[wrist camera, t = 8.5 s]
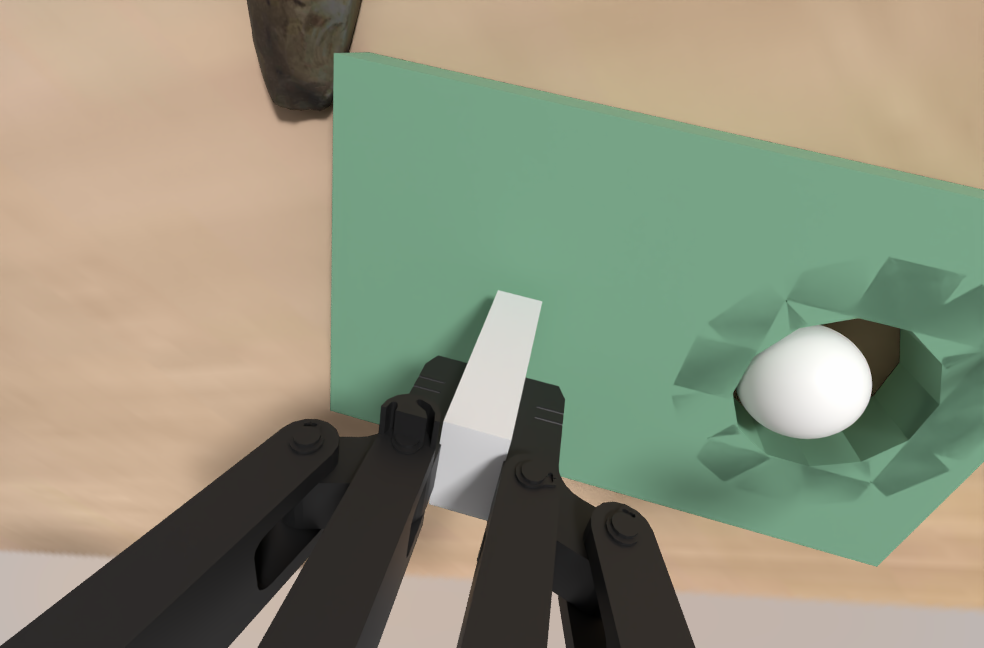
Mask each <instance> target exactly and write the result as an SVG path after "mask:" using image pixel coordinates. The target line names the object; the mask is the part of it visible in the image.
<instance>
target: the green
mask: <svg viewBox="0 0 984 648" xmlns="http://www.w3.org/2000/svg"><path fill="white" fill-rule="evenodd" d="M498 290H500V291H503V292H507V293H511V294H515V295H519V296H523V297H527V298H531V299H535V300H539V301H542V306H541V310H540V315H539V319H538V323H537V328H536V332H535V337H534V341H533V346H532V350H531V355H530V359H529V364H528V368H527V373H526V378H530V379H534V380H537V381H541V382H545V383H549V384H552V385H556V386H559V387H560V390H561V392H562V394H563V396H564V398H565V407H564V414H563V415H564V417H563V425H562V426H563V427H562V438H561V448H560V458H559V473H560V475H561V477H565V478H568V479H572V480H575V481H579V482H582V483H586V484H589V485H593V486H596V487H600V488H603V489H607V490H610V491H614V492H617V493H621V494H624V495H628V496H631V497H635V498H638V499H642V500H645V501H649V502H652V503H656V504H659V505H663V506H666V507H670V508H673V509H677V510H680V511H684V512H687V513H691V514H694V515H698V516H701V517H705V518H708V519H712V520H715V521H719V522H722V523H726V524H729V525H733V526H736V527H740V528H743V529H747V530H750V531H754V532H757V533H761V534H764V535H768V536H771V537H775V538H778V539H782V540H785V541H789V542H792V543H796V544H799V545H803V546H806V547H810V548H813V549H817V550H820V551H824V552H827V553H831V554H834V555H838V556H841V557H845V558H848V559H852V560H855V561H859V562H862V563H866V564H869V565H873V566H876V567H877V566H878V565H879V564H880V563H881V562H882V561H883V560H884V559H885V558H886V557H887V556H888V555H889V554H890V553H891V552H892V551H893V550H894V549H895V548H896V547H897V546H898V545H899V544H900V543H901V542H902V541H903V540H905V539H906V538H907V537H908V536H909V535H910V534H911V533H912V532H913V531H914V530H915V529H916V528H917V527H918V526H919V525H920V524H921V523H922V522H923V521H924V520H925V519H926V518H927V517H928V516H929V515H930V514H931V513H932V512H933V511H934V510H935V509H936V508H937V507H938V506H939V505H940V504H941V503H942V502H943V501H944V500H945V499H946V498H947V497H948V496H949V495H950V494H951V493H952V492H953V491H954V490H955V489H956V488H957V487H959V486H960V485H961V484H962V483H963V482H964V481H965V480H966V479H967V478H968V477H969V476H970V475H971V474H972V473H973V472H974V471H975V470H976V469H977V468H978V467H979V466H980V465H981V464H982V463H983V462H984V190H982V189H978V188H973V187H969V186H964V185H960V184H955V183H951V182H946V181H942V180H937V179H933V178H928V177H924V176H920V175H915V174H911V173H906V172H902V171H897V170H893V169H888V168H884V167H879V166H875V165H870V164H866V163H861V162H857V161H852V160H848V159H844V158H839V157H835V156H830V155H826V154H821V153H817V152H812V151H808V150H803V149H799V148H794V147H790V146H785V145H781V144H776V143H772V142H767V141H763V140H759V139H754V138H750V137H745V136H741V135H736V134H732V133H727V132H723V131H718V130H714V129H709V128H705V127H700V126H696V125H691V124H687V123H683V122H678V121H674V120H669V119H665V118H660V117H656V116H651V115H647V114H642V113H638V112H633V111H629V110H624V109H620V108H615V107H611V106H607V105H602V104H598V103H593V102H589V101H584V100H580V99H575V98H571V97H566V96H562V95H557V94H553V93H548V92H544V91H539V90H535V89H531V88H526V87H522V86H517V85H513V84H508V83H504V82H499V81H495V80H490V79H486V78H481V77H477V76H472V75H468V74H463V73H459V72H454V71H450V70H446V69H441V68H437V67H432V66H428V65H423V64H419V63H414V62H410V61H405V60H401V59H396V58H392V57H387V56H383V55H378V54H374V53H370V52H364V53H334V87H333V189H332V291H331V393H330V411H334V412H337V413H341V414H344V415H348V416H351V417H355V418H358V419H362V420H365V421H369V422H372V423H376V424H379V423H380V411H381V405H382V404H383V403H384V402H385V401H386V400H387V399H389V398H392V397H394V396H396V395H401V394H409V393H410V391H411V389H412V387H414V384H415V382H416V380H417V378H418V377H419V375H420V373H421V371H422V369H423V367H424V365H425V364H426V363H427V362H429V361H430V360H432V359H433V358H435V357H436V356H438V355H439V356H443V357H447V358H450V359H454V360H458V361H462V362H465V363H468V361H469V359H470V356H471V354H472V352H473V349H474V347H475V344H476V342H477V340H478V337H479V335H480V332H481V330H482V328H483V325H484V323H485V320H486V318H487V316H488V313H489V311H490V308H491V306H492V304H493V301H494V299H495V296H496V294H497V292H498ZM856 318H860V319H864V320H868V321H872V322H876V323H880V324H884V325H888V326H892V327H896V328H900V362H899V364H898V365H897V366H896V368H895V369H894V370H893V372H892V373H891V374H890V375H889V377H888V378H887V379H886V381H885V382H884V383H883V384H882V386H881V387H880V388H879V390H878V391H877V392H876V394H875V395H874V396H872V397H870V400H869V403H868V405H867V407H866V408H865V410H864V412H863V413H862V415H861V416H860V417H859V418H858V419H857V420H856V421H855V422H854V423H853V424H852V425H851V426H849V427H848V428H846V429H844V430H842V431H841V432H839V433H836V434H833V435H831V436H827V437H822V438H815V439H799V438H793V437H788V436H784V435H781V434H779V433H776V432H774V431H771V430H770V429H768V428H766V427H764V426H763V425H761V424H760V423H759V422H757V421H756V420H755V419H754V418H753V417H752V416H751V415H750V414H749V413H748V412H747V410H746V409H745V408H744V406H743V405H742V404H740V403H739V402H738V401H737V400H736V399H735V398H734V397H733V392H734V390H735V389H736V387H737V385H738V383H739V382H740V380H741V378H742V376H743V375H744V373H745V371H746V369H747V368H748V366H749V364H750V362H751V361H752V359H753V357H754V356H756V355H757V354H759V353H761V352H762V351H764V350H765V349H767V348H769V347H770V346H772V345H773V344H775V343H777V342H778V341H780V340H781V339H783V338H784V337H786V336H788V335H789V334H791V333H792V332H794V331H796V330H797V329H799V328H804V327H810V326H815V325H821V324H827V323H833V322H839V321H844V320H850V319H856Z"/></svg>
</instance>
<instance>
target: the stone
mask: <svg viewBox="0 0 984 648" xmlns="http://www.w3.org/2000/svg"><path fill="white" fill-rule="evenodd" d="M360 2H361V0H247V4H248V11H249V17H250V22H251V27H252V36H253V42H254V45H255V49H256V53H257V57H258V60H259V64H260V68H261V72H262V75H263V78H264V81H265V84H266V87H267V89H268V91H269V94H270V96H271V98H272V100H273V102H274V103H275V104H276V105H278V106H280V107H285V108H288V109H292V110H307V109H311V110H318V111H321V110H323V109H325V108H327V107H329V106H330V105H331V103H332V101H333V87H334V53H348V51H349V47H350V44H351V40H352V36H353V31H354V26H355V23H356V20H357V16H358V12H359V7H360Z"/></svg>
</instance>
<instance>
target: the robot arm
mask: <svg viewBox="0 0 984 648" xmlns="http://www.w3.org/2000/svg"><path fill="white" fill-rule="evenodd" d="M541 306H542V301H539V300H535V299H531V298H527V297H523V296H519V295H515V294H511V293H507V292H503V291H500V290H498V292H497V294H496V296H495V299H494V301H493V304H492V306H491V308H490V311H489V313H488V316H487V318H486V320H485V323H484V325H483V328H482V330H481V332H480V335H479V337H478V340H477V342H476V344H475V347H474V349H473V352H472V354H471V356H470V359H469V361H468V363H465V362H462V361H458V360H454V359H450V358H447V357H443V356H439V355H438V356H436V357H435V358H433V359H432V360H430V361H429V362H427V363H426V364H425V365H424V367H423V369H422V371H421V373H420V375H419V377H418V378H417V380H416V382H415V384H414V387H412V389H411V391H410V393H409V394H401V395H396V396H394V397H392V398H389V399H387V400H386V401H385V402H384V403H383V404H382V405H381V411H380V423H379V433H378V434H376V435H372V436H368V437H339V435H338V432H337V430H336V428H334V427H333V426H332V425H331V424H329V423H328V422H324V421H321V420H318V419H304V420H300V421H296V422H292V423H291V424H289V425H287V426H285V427H283V428H282V429H281V430H279V431H278V432H277V433H276V434H274V435H273V436H272V437H270V438H269V439H268V440H266V441H265V442H264V443H263V444H261V445H260V446H259V447H257V448H256V449H255V450H253V451H252V452H251V453H250V454H248V455H247V456H246V457H244V458H243V459H242V460H241V461H239V462H238V463H237V464H235V465H234V466H233V467H231V468H230V469H229V470H228V471H226V472H225V473H224V474H222V475H221V476H220V477H219V478H217V479H216V480H215V481H213V482H212V483H211V484H209V485H208V486H207V487H206V488H204V489H203V490H202V491H200V492H199V493H198V494H197V495H195V496H194V497H193V498H191V499H190V500H189V501H187V502H186V503H185V504H184V505H182V506H181V507H180V508H178V509H177V510H176V511H175V512H173V513H172V514H171V515H169V516H168V517H167V518H165V519H164V520H163V521H162V522H160V523H159V524H158V525H156V526H155V527H154V528H153V529H151V530H150V531H149V532H147V533H146V534H145V535H143V536H142V537H141V538H140V539H138V540H137V541H136V542H134V543H133V544H132V545H131V546H129V547H128V548H127V549H125V550H124V551H123V552H121V553H120V554H119V555H118V556H116V557H115V558H114V559H112V560H111V561H110V562H109V563H107V564H106V565H105V566H103V567H102V568H101V569H99V570H98V571H97V572H96V573H94V574H93V575H92V576H91V577H89V578H88V579H87V580H85V581H84V582H83V583H81V584H80V585H79V586H77V587H76V588H75V589H74V590H72V591H71V592H70V593H68V594H67V595H66V596H65V597H63V598H62V599H61V600H59V601H58V602H57V603H56V604H54V605H53V606H52V607H50V608H49V609H48V610H46V611H45V612H44V613H42V614H41V615H40V616H39V617H37V618H36V619H35V620H33V621H32V622H31V623H30V624H28V625H27V626H26V627H24V628H23V629H22V630H21V631H19V632H18V633H17V634H15V635H14V636H13V637H11V638H10V639H9V640H8V641H6V642H5V643H4V644H2V645H1V646H0V648H228V647H229V645H231V643H232V642H233V641H234V640H235V639H236V638H237V637H238V635H240V633H241V632H242V631H243V630H244V629H245V627H247V626H248V624H249V623H250V622H251V621H252V620H253V619H254V617H256V615H257V614H258V613H259V612H260V611H261V610H262V609H263V607H264V606H265V605H266V604H267V603H268V602H269V601H270V600H271V599H272V597H273V596H274V595H275V594H276V593H277V592H278V591H279V590H280V588H281V587H282V586H283V585H284V584H285V583H286V582H287V581H288V580H289V578H290V577H291V576H292V575H293V574H294V573H295V572H296V571H297V569H298V568H299V567H300V566H301V565H302V564H303V563H304V562H305V561H306V559H307V558H308V557H309V558H308V559H307V561H306V563H305V565H304V566H303V568H302V570H301V572H300V574H299V575H298V577H297V579H296V581H295V583H294V584H293V586H292V588H291V589H290V591H289V593H288V595H287V596H286V599H285V600H284V602H283V604H282V605H281V607H280V609H279V611H278V612H277V614H276V616H275V618H274V619H273V621H272V623H271V625H270V627H269V628H268V630H267V632H266V634H265V636H264V637H263V639H262V641H261V642H260V644H259V646H258V648H377V647H378V645H379V642H380V639H381V636H382V634H383V631H384V628H385V625H386V622H387V620H388V617H389V614H390V612H391V609H392V606H393V604H394V601H395V598H396V596H397V593H398V590H399V587H400V584H401V582H402V579H403V576H404V574H405V571H406V568H407V566H408V563H409V560H410V557H411V555H412V552H413V549H414V546H415V544H416V541H417V538H418V536H419V533H420V530H421V527H422V525H423V519H424V513H425V509H426V506H427V504H428V501H429V499H430V501H429V504H431V505H434V506H438V507H441V508H445V509H448V510H452V511H455V512H459V513H462V514H466V515H469V516H472V517H476V518H479V519H483V520H486V521H487V526H486V529H485V533H484V537H483V540H482V544H481V547H480V551H479V554H478V558H477V565H476V569H475V573H474V577H473V582H472V586H471V590H470V594H469V598H468V602H467V607H466V611H465V615H464V619H463V623H462V628H461V632H460V636H459V640H458V645H457V648H547V641H548V630H549V619H550V608H551V596H552V591H553V592H554V593H556V594H557V595H558V600H559V606H560V612H561V619H562V625H563V631H564V638H565V644H566V648H695V645H694V643H693V640H692V637H691V634H690V631H689V629H688V626H687V623H686V620H685V618H684V615H683V612H682V610H681V607H680V604H679V601H678V598H677V596H676V593H675V590H674V587H673V585H672V582H671V579H670V576H669V574H668V571H667V568H666V565H665V563H664V560H663V557H662V554H661V552H660V549H659V546H658V543H657V541H656V538H655V535H654V532H653V530H652V529H651V527H650V525H649V523H648V521H647V520H646V519H645V518H644V517H643V516H642V515H641V514H640V513H639V512H638V511H636V510H634V509H633V508H631V507H629V506H627V505H625V504H621V503H617V502H606V503H602V504H601V505H599V506H597V507H594V506H592V505H591V504H589V503H587V502H586V501H584V500H582V499H581V498H579V497H578V496H576V495H575V494H574V493H572V492H571V491H570V489H569V488H568V487H567V486H566V485H565V483H564V482H563V480H562V478H561V475H560V473H559V458H560V448H561V438H562V427H563V426H562V425H563V417H564V415H563V414H564V407H565V398H564V396H563V394H562V392H561V390H560V387H559V386H556V385H552V384H549V383H545V382H541V381H537V380H534V379H530V378H526V373H527V368H528V364H529V359H530V355H531V350H532V346H533V341H534V337H535V332H536V328H537V323H538V319H539V315H540V310H541Z"/></svg>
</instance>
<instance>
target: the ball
mask: <svg viewBox="0 0 984 648" xmlns="http://www.w3.org/2000/svg"><path fill="white" fill-rule="evenodd" d="M736 391H737V394H738V396H739V399H740V401H741V403H742V404H743V406H744V408H745V409H746V410H747V412H748V413H749V414H750V415H751V416H752V417H753V418H754V419H755V420H756V421H757V422H759V423H760V424H761V425H763V426H764V427H766V428H768V429H770V430H771V431H774V432H776V433H779V434H781V435H784V436H788V437H793V438H799V439H815V438H822V437H827V436H831V435H833V434H836V433H839V432H841V431H842V430H844V429H846V428H848V427H849V426H851V425H852V424H853V423H854V422H855V421H856V420H857V419H858V418H859V417H860V416H861V415H862V413H863V412H864V410H865V408H866V407H867V405H868V403H869V400H870V396H871V391H872V376H871V372H870V368H869V366H868V363H867V361H866V359H865V357H864V356H863V354H862V353H861V351H860V350H859V349H858V348H857V347H856V346H855V344H854V343H852V342H851V341H850V340H849V339H848V338H846V337H845V336H843V335H842V334H840V333H838V332H836V331H835V330H833V329H831V328H828V327H825V326H822V325H815V326H810V327H804V328H799V329H797V330H796V331H794V332H792V333H791V334H789V335H788V336H786V337H784V338H783V339H781V340H780V341H778V342H777V343H775V344H773V345H772V346H770V347H769V348H767V349H765V350H764V351H762V352H761V353H759V354H757V355H756V356H754V357H753V359H752V361H751V362H750V364H749V366H748V368H747V369H746V371H745V373H744V375H743V376H742V378H741V380H740V382H739V383H738V385H737V387H736Z"/></svg>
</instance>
